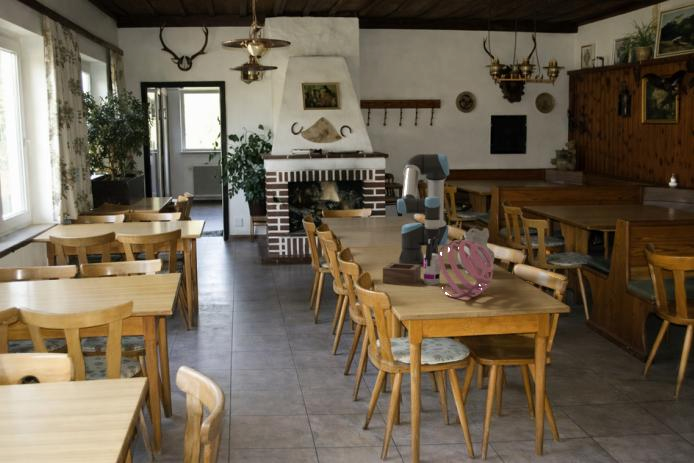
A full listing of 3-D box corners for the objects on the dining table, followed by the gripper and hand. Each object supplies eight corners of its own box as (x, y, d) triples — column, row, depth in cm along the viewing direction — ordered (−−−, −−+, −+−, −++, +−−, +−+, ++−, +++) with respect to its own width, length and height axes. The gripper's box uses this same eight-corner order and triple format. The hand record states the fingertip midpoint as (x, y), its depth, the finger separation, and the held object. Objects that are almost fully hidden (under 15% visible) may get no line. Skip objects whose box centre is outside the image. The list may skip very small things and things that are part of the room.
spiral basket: (413, 253, 361) (456, 225, 346) (449, 260, 381) (491, 233, 366) (432, 307, 349) (477, 280, 334) (467, 310, 369) (512, 285, 354)
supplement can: (427, 285, 382) (427, 256, 380) (421, 282, 390) (421, 253, 388) (442, 284, 384) (442, 255, 382) (435, 281, 392) (436, 252, 390)
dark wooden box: (391, 276, 404) (391, 262, 403) (420, 278, 399) (420, 264, 398) (382, 282, 389) (382, 268, 388) (413, 284, 384) (413, 270, 383)
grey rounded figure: (492, 280, 400) (497, 233, 397) (454, 275, 404) (459, 229, 400) (492, 272, 421) (497, 227, 418) (457, 268, 425) (461, 224, 421)
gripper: (430, 224, 395) (429, 265, 398) (419, 230, 373) (418, 274, 376) (444, 225, 393) (443, 266, 396) (434, 231, 371) (433, 275, 374)
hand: (431, 270), depth 386 cm, fingers open, 12 cm apart
